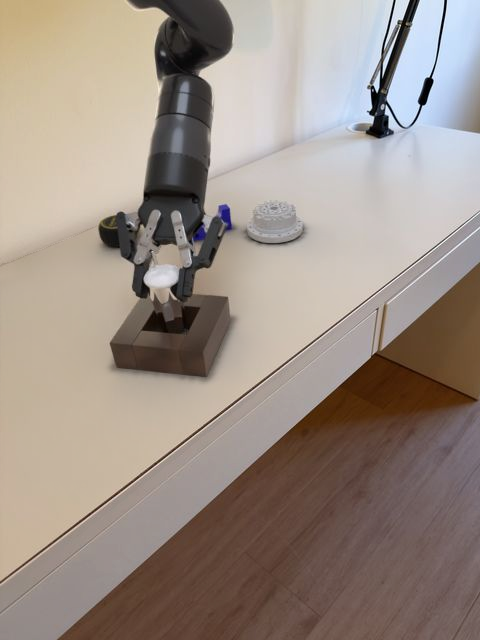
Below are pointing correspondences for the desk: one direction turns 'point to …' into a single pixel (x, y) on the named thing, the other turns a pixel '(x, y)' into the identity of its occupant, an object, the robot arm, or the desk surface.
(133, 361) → the socket block
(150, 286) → the milkshake
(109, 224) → the tape measure
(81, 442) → the desk surface
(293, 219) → the mechanical component
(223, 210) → the cable holder
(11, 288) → the desk surface
